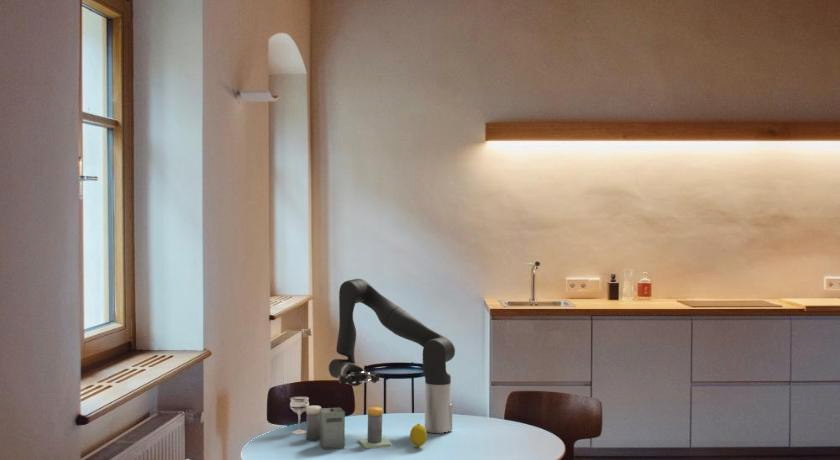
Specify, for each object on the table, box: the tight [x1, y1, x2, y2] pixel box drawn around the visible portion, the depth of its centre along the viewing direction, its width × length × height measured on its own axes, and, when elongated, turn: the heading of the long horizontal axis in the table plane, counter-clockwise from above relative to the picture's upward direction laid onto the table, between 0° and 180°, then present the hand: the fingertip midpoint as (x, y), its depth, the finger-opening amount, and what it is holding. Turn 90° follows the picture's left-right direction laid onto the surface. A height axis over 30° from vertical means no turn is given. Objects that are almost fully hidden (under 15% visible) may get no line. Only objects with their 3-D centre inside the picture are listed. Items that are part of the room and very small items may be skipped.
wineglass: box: [289, 396, 310, 435], centre depth 278 cm, size 7×7×12 cm
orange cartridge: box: [366, 406, 383, 443], centre depth 264 cm, size 5×5×11 cm
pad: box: [358, 436, 392, 449], centre depth 263 cm, size 9×9×1 cm
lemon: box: [409, 423, 428, 449], centre depth 259 cm, size 6×6×8 cm
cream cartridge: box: [305, 405, 322, 442], centre depth 269 cm, size 5×5×11 cm
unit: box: [318, 407, 346, 451], centre depth 260 cm, size 7×8×13 cm
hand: (363, 380), depth 276 cm, fingers open, 8 cm apart
